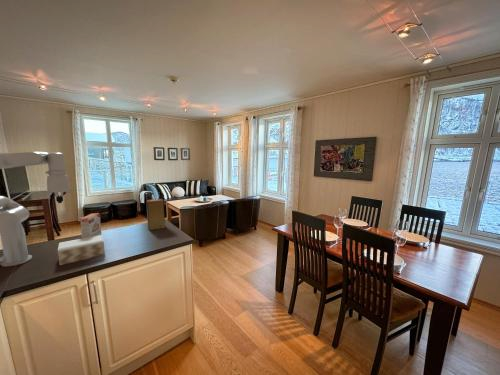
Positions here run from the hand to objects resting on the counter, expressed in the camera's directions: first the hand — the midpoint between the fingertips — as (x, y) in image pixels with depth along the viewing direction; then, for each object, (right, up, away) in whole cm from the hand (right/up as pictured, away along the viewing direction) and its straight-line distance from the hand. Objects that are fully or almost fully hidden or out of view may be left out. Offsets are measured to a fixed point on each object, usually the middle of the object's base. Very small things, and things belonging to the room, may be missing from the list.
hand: (60, 202), depth 133 cm
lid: (+11, -26, +3) cm, 29 cm away
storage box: (+11, -34, +4) cm, 36 cm away
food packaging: (+35, -26, +57) cm, 72 cm away
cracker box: (+4, -31, +22) cm, 39 cm away
